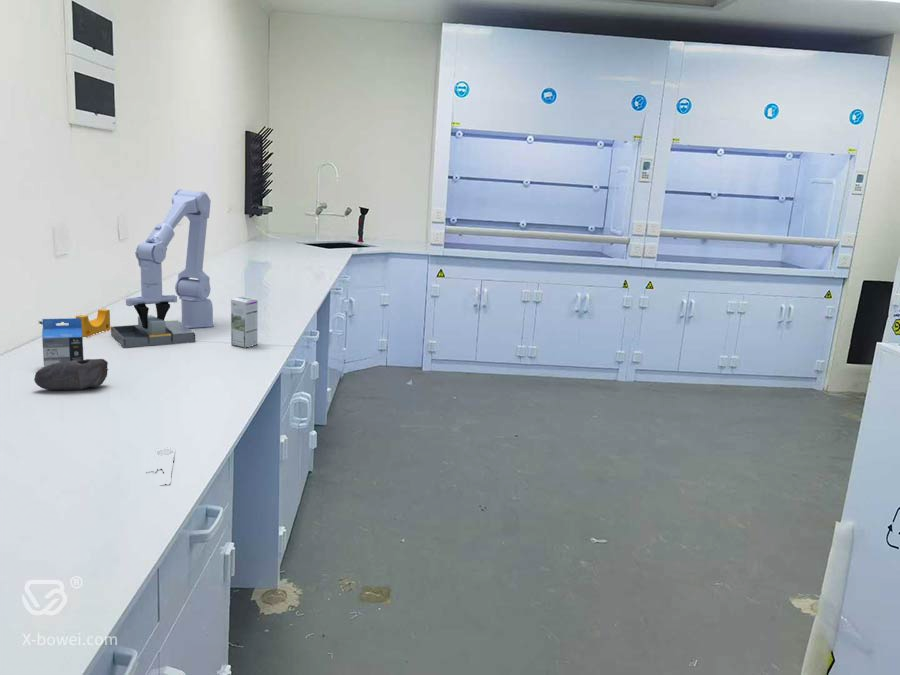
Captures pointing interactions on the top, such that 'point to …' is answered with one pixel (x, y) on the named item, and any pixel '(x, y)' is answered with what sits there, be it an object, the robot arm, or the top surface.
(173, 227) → the robot arm
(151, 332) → the tall blue-grey block
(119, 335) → the grey compartment tray
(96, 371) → the perforated stone tool
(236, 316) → the syrup box
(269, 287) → the top surface
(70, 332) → the ink cartridge box
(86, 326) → the pipe clamp
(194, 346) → the top surface
